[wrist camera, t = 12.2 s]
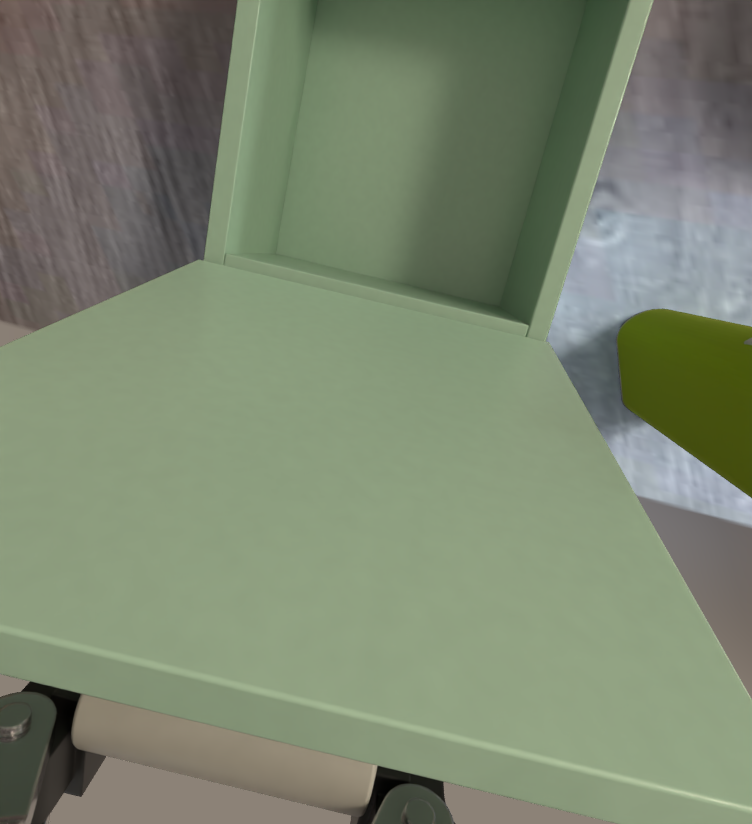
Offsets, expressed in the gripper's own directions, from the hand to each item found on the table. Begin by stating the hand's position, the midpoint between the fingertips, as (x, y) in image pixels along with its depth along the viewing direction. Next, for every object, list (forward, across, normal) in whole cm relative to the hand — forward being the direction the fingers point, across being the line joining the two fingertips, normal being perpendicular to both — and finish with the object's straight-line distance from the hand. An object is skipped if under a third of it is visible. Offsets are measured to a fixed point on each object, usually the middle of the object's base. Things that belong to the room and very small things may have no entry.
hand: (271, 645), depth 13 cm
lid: (+2, 0, -6) cm, 6 cm away
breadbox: (+19, 0, -15) cm, 24 cm away
